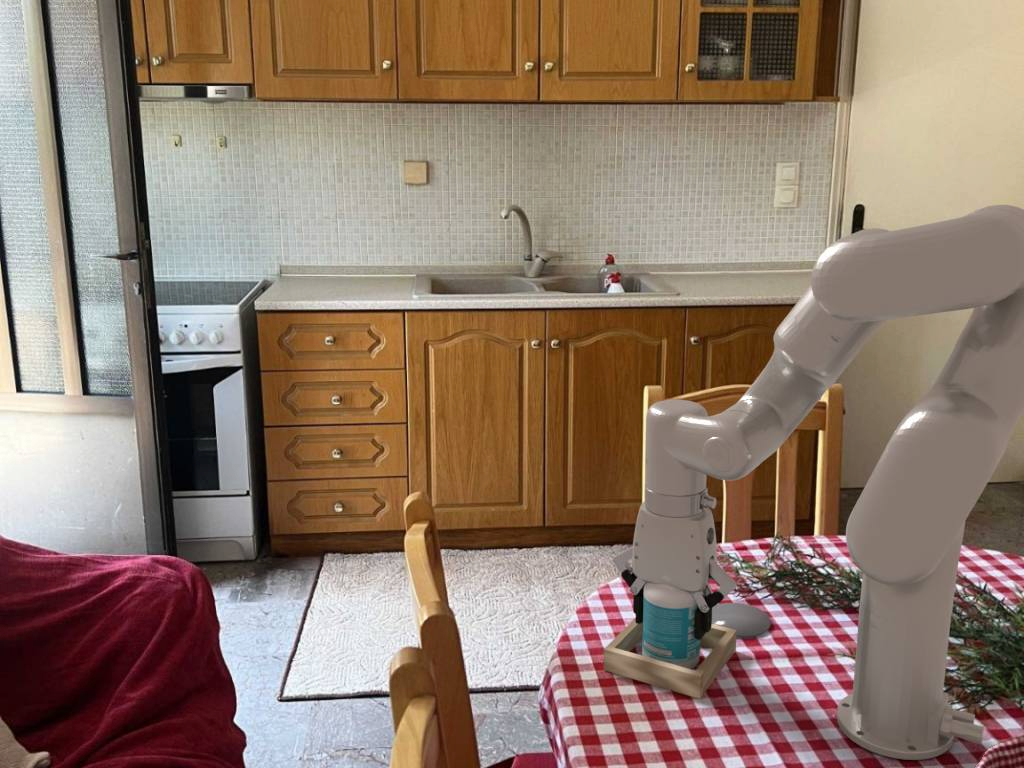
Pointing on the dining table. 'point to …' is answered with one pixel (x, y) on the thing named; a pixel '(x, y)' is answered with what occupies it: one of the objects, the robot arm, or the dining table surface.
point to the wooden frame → (665, 673)
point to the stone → (741, 619)
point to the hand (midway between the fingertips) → (671, 626)
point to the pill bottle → (669, 625)
